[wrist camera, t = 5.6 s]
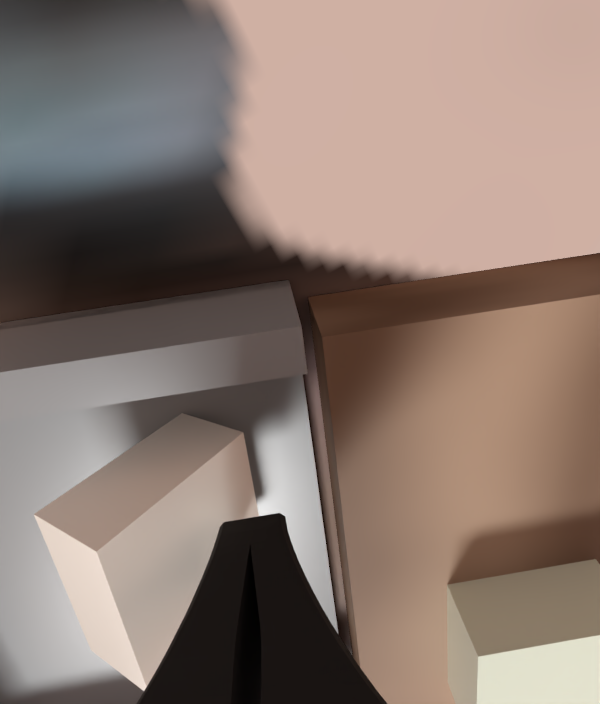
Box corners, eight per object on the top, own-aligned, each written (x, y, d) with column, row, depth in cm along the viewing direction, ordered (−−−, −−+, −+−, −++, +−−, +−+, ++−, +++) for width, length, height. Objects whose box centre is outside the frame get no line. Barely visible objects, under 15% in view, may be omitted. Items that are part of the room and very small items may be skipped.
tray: (289, 279, 12) (301, 326, 10) (344, 680, 19) (361, 776, 16) (-230, 357, 12) (-369, 428, 9) (5, 741, 18) (-36, 850, 16)
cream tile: (96, 551, 9) (33, 514, 10) (149, 695, 11) (90, 650, 12) (243, 432, 12) (182, 412, 13) (267, 560, 14) (211, 534, 15)
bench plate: (857, 214, 13) (985, 234, 11) (732, 602, 19) (798, 668, 17) (307, 297, 13) (322, 336, 10) (354, 669, 19) (369, 746, 16)
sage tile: (595, 559, 14) (648, 626, 12) (580, 658, 16) (624, 730, 14) (447, 584, 14) (478, 656, 12) (447, 681, 15) (474, 758, 14)
